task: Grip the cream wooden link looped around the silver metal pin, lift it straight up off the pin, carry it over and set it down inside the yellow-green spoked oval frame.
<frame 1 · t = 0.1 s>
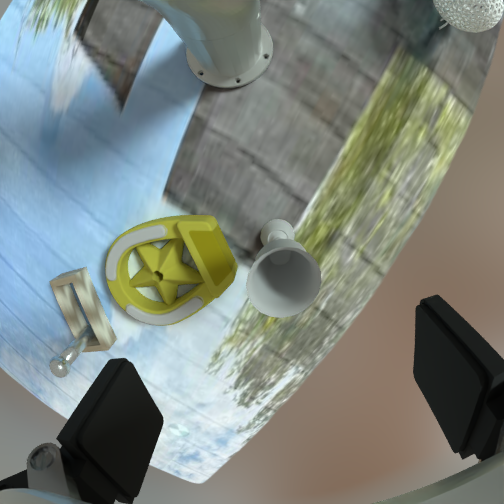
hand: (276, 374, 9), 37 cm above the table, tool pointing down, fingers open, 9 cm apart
chalice: (277, 235, 45), on the table
link: (88, 306, 51), on the table
silver metal pin: (96, 325, 52), on the table
yellow-green spoked oval frame: (169, 265, 48), on the table
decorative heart: (442, 11, 32), on the table
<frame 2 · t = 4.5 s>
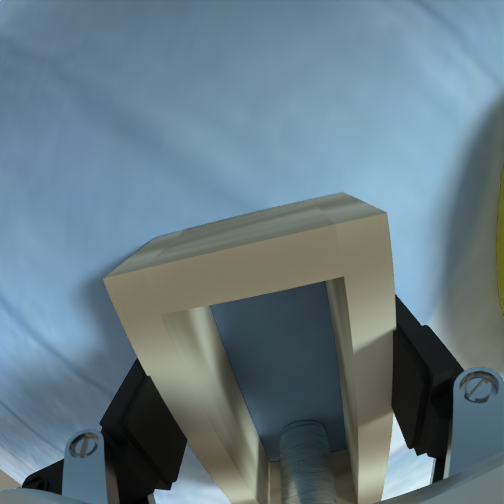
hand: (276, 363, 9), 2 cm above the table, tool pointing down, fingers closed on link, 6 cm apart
link: (289, 383, 12), on the table, touching gripper
silver metal pin: (303, 434, 13), on the table
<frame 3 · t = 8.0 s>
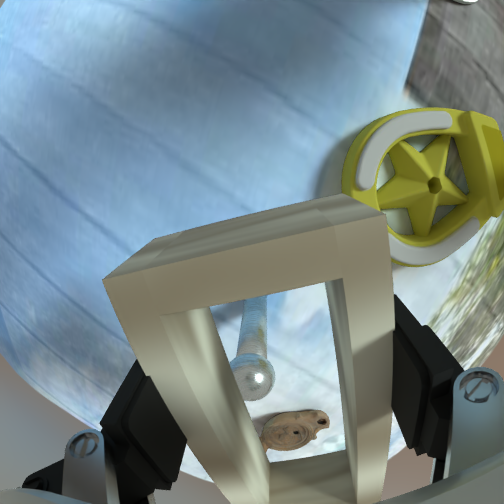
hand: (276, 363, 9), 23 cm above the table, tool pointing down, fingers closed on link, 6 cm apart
oil lamp: (285, 421, 40), on the table
link: (288, 383, 12), point 21 cm above the table, touching gripper
silver metal pin: (255, 296, 34), on the table
yellow-green spoked oval frame: (423, 179, 30), on the table
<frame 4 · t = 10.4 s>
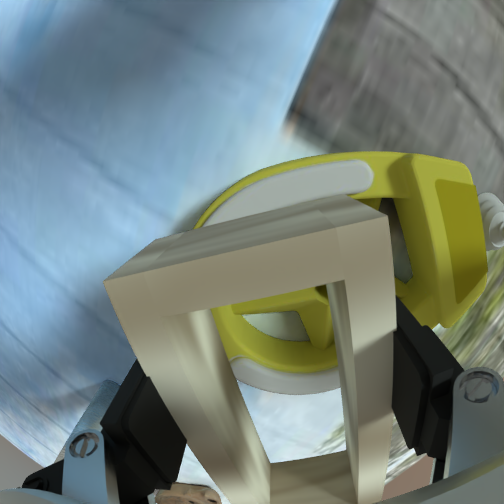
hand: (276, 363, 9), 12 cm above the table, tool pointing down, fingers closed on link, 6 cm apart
chalice: (484, 222, 20), on the table
oil lamp: (184, 488, 33), on the table
link: (289, 384, 12), point 10 cm above the table, touching gripper
silver metal pin: (112, 389, 27), on the table
yellow-green spoked oval frame: (329, 264, 22), on the table
when the fingers open (8 cm above the table, at t = 11.7 s): link drops 2 cm, resting on yellow-green spoked oval frame.
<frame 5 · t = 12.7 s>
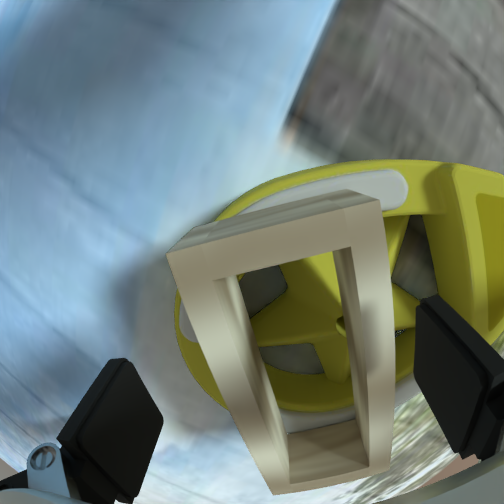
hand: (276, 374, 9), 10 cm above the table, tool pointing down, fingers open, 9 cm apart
link: (305, 352, 15), point 4 cm above the table, touching yellow-green spoked oval frame
yellow-green spoked oval frame: (349, 289, 19), on the table, touching link
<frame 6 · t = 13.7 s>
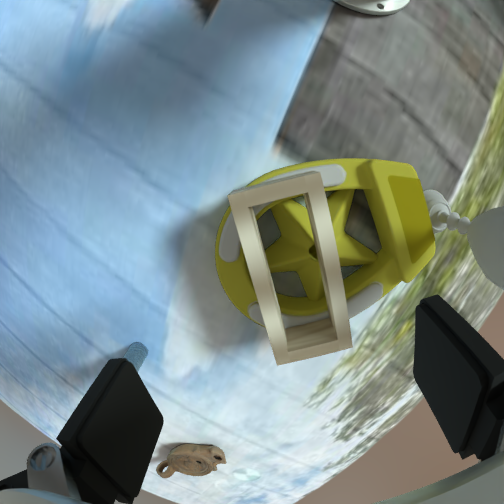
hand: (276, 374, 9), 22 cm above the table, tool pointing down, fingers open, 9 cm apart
chalice: (429, 212, 29), on the table, touching yellow-green spoked oval frame
oil lamp: (192, 450, 42), on the table
link: (293, 263, 27), point 4 cm above the table
silver metal pin: (139, 350, 35), on the table
yellow-green spoked oval frame: (319, 238, 31), on the table, touching chalice
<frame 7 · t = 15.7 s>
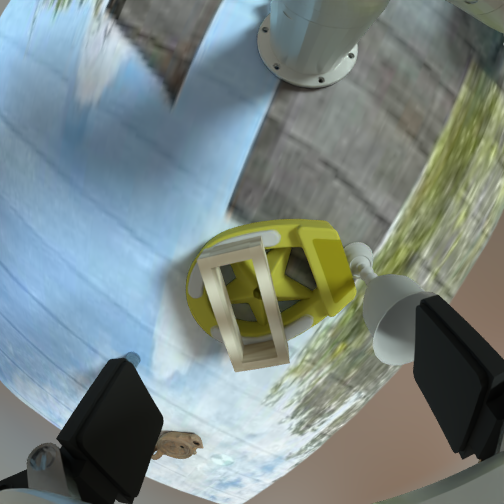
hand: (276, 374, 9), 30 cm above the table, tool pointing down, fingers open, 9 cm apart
chalice: (355, 260, 39), on the table, touching yellow-green spoked oval frame
oil lamp: (177, 437, 52), on the table
link: (248, 300, 37), point 4 cm above the table, touching yellow-green spoked oval frame
silver metal pin: (133, 357, 46), on the table
yellow-green spoked oval frame: (266, 278, 41), on the table, touching chalice, link
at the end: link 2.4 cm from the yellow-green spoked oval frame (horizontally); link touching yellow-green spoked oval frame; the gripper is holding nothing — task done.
